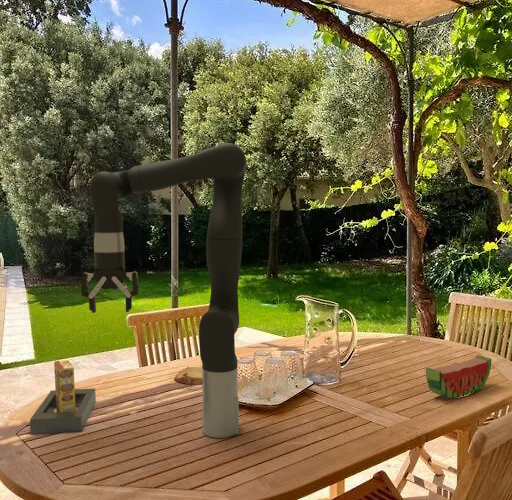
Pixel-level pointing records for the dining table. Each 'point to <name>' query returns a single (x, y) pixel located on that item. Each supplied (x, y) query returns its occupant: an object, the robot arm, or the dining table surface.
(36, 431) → the rectangular frame
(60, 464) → the dining table surface
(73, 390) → the candy box
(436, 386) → the fruit slice
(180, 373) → the bread slice
